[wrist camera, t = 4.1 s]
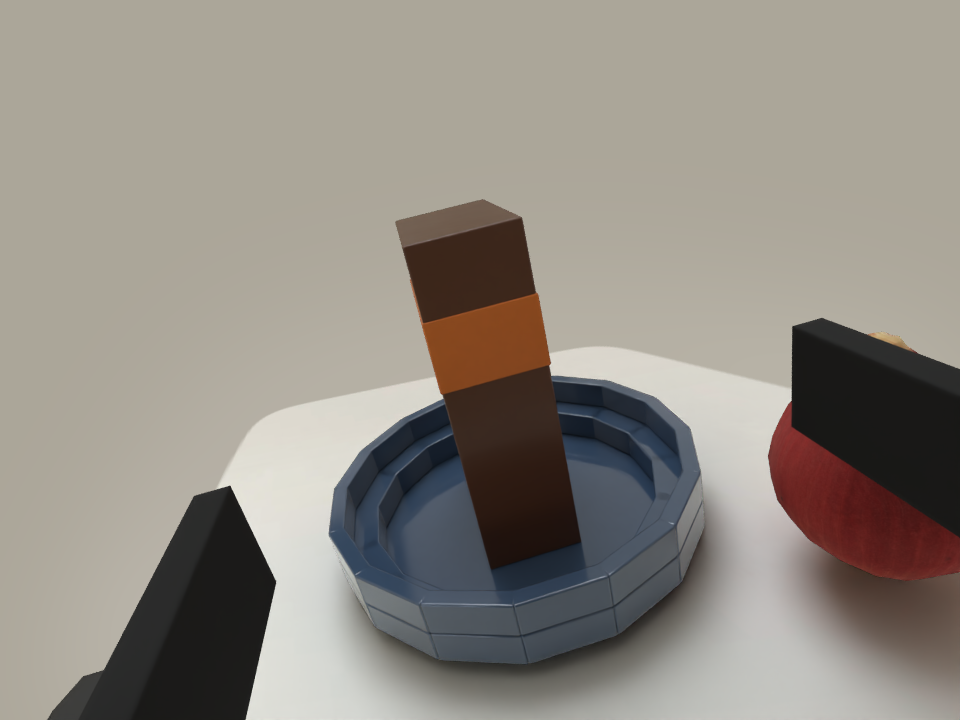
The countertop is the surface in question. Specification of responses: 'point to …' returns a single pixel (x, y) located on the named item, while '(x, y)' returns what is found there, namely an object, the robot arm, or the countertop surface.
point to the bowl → (536, 580)
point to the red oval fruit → (856, 509)
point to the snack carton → (493, 374)
